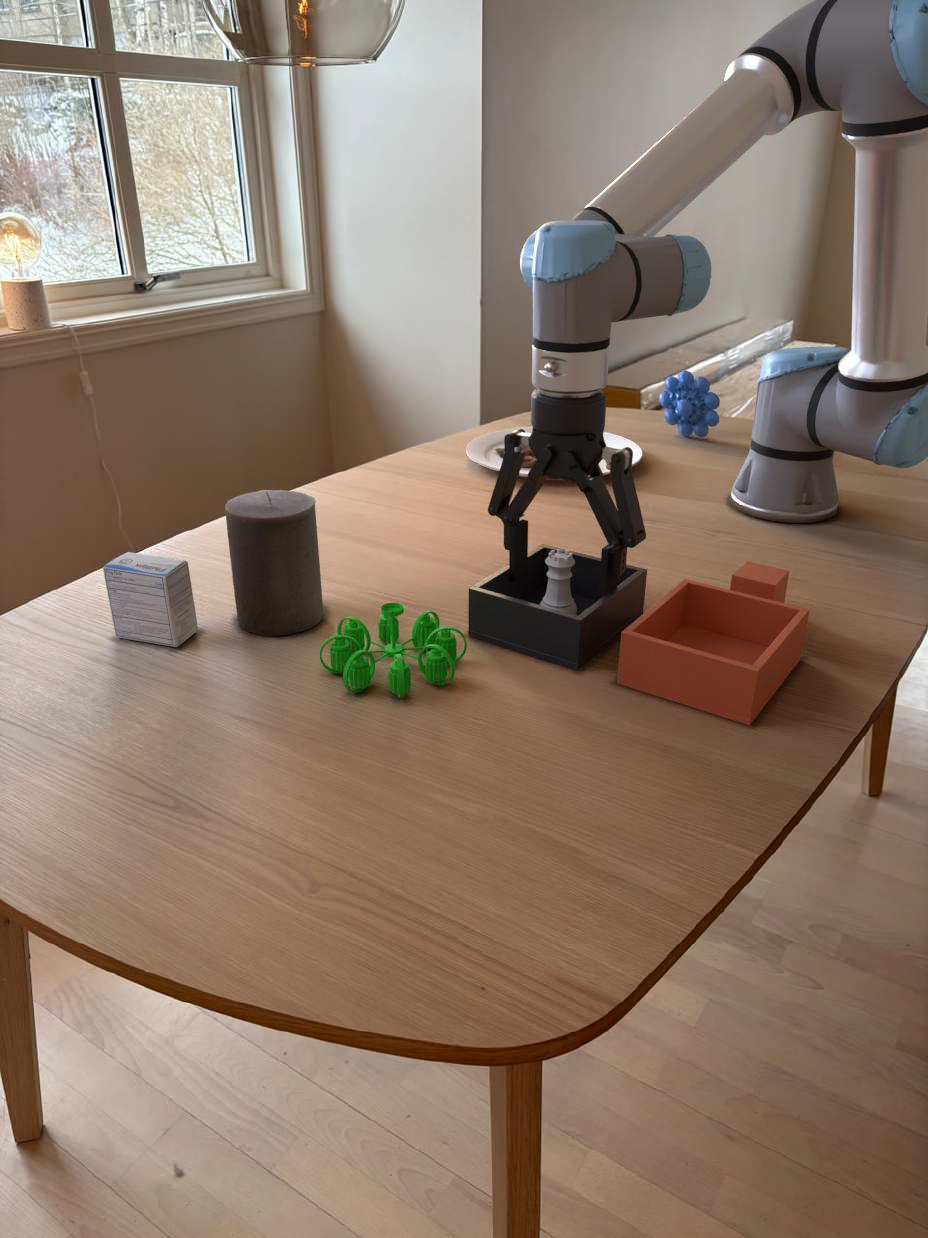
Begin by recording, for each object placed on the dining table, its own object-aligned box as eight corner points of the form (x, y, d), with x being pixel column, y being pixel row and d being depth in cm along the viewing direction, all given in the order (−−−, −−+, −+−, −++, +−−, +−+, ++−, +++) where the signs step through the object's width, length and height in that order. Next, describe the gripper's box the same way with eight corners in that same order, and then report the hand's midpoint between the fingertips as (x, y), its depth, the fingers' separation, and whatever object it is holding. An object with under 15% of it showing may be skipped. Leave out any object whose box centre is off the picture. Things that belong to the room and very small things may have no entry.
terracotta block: (741, 599, 113) (746, 560, 111) (783, 610, 110) (789, 570, 108) (726, 614, 109) (731, 574, 107) (769, 626, 107) (775, 585, 104)
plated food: (548, 427, 182) (549, 409, 181) (677, 461, 162) (679, 441, 161) (430, 457, 164) (429, 438, 163) (558, 500, 144) (559, 479, 143)
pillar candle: (251, 644, 102) (236, 512, 96) (227, 609, 110) (212, 485, 104) (336, 625, 106) (328, 497, 100) (307, 592, 114) (298, 472, 108)
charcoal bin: (540, 587, 116) (542, 543, 113) (643, 616, 109) (647, 569, 106) (468, 636, 104) (468, 588, 102) (577, 671, 97) (581, 620, 95)
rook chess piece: (575, 630, 104) (579, 562, 100) (534, 626, 104) (537, 559, 101) (579, 612, 108) (583, 547, 104) (539, 609, 108) (542, 544, 105)
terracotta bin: (679, 625, 107) (684, 578, 104) (800, 659, 100) (809, 609, 97) (616, 683, 95) (621, 632, 92) (749, 725, 88) (758, 671, 86)
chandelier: (454, 629, 106) (454, 572, 102) (479, 699, 92) (480, 635, 89) (318, 640, 103) (313, 582, 100) (324, 713, 90) (319, 648, 87)
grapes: (647, 437, 176) (653, 371, 171) (660, 429, 181) (666, 365, 176) (709, 446, 171) (717, 379, 165) (720, 437, 176) (728, 372, 171)
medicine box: (199, 631, 105) (189, 559, 101) (176, 649, 101) (165, 575, 97) (139, 621, 107) (127, 550, 103) (114, 638, 104) (100, 565, 100)
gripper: (452, 382, 98) (456, 577, 108) (660, 413, 86) (643, 628, 96) (492, 368, 103) (492, 555, 114) (693, 395, 92) (673, 601, 102)
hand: (561, 588), depth 105 cm, fingers open, 11 cm apart
